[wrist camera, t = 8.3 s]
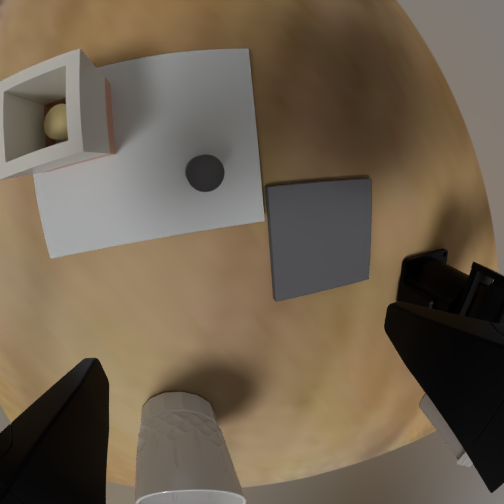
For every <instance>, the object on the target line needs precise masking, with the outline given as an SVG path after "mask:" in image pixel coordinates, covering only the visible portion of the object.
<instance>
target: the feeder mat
mask: <svg viewBox="0 0 504 504" xmlns="http://www.w3.org/2000/svg"><path fill="white" fill-rule="evenodd" d="M265 193H266V205H267V218H268V231H269V244H270V258H271V272H272V287H273V298H274V300H275V301H276V302H277V301H281V300H286V299H290V298H295V297H299V296H303V295H308V294H312V293H316V292H320V291H324V290H328V289H332V288H336V287H340V286H344V285H348V284H352V283H356V282H359V281H363V280H367V279H369V266H370V249H371V223H372V179H369V178H359V179H343V180H329V181H316V182H304V183H293V184H283V185H274V186H265Z"/></svg>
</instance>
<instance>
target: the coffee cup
mask: <svg viewBox="0 0 504 504" xmlns="http://www.w3.org/2000/svg"><path fill="white" fill-rule="evenodd" d="M419 407H420V409H421V410H422V411H423V413H424V414H425V415H426V416H427V418H428V419H429V420H430V422H431V423H432V425H433V426H434V427H435V429H436V430H437V431H438V433H439V434H440V435H441V437H442V438H443V439H444V441H445V442H446V444H447V445H448V446H449V448H450V449H451V450H452V452H453V453H454V455H455V456H456V458H457V459H458V462H457V464H459V465H461V466H463V465H465V466H466V467H470V466H471V465H472V464H473V463H472V461H471V460H470V458H469V457H468V455H467V453H466V451H465V450H464V448H463V447H462V445H461V444H460V442H459V441H458V439H457V438H456V436H455V435H454V433H453V432H452V430H451V429H450V427H449V426H448V424H447V423H446V421H445V420H444V418H443V417H442V416H441V414H440V413H439V411H438V410H437V408H436V407H435V405H434V404H433V403H432V401H431V400H430V398H429V397H428V396H427V394H425V395H424V397H423V398H422V400H421V402H420V405H419Z"/></svg>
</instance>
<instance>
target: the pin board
mask: <svg viewBox="0 0 504 504" xmlns="http://www.w3.org/2000/svg"><path fill="white" fill-rule="evenodd" d="M98 70H99V71H100V72H101V73H102V74H103V75H104V76H105V78H106V79H107V80H108V81H109V82H110V84H111V105H112V119H113V131H114V141H115V150H116V154H115V155H110V156H106V157H102V158H98V159H94V160H90V161H86V162H82V163H78V164H75V165H71V166H68V167H64V168H61V169H57V170H54V171H51V172H44V173H37V174H33V177H34V184H35V190H36V196H37V202H38V208H39V213H40V218H41V222H42V227H43V231H44V235H45V240H46V243H47V247H48V251H49V255H50V258H51V259H52V258H56V257H61V256H66V255H71V254H76V253H81V252H86V251H91V250H96V249H101V248H107V247H112V246H117V245H123V244H128V243H133V242H139V241H145V240H150V239H156V238H162V237H167V236H173V235H179V234H185V233H191V232H197V231H203V230H209V229H216V228H222V227H228V226H235V225H241V224H248V223H254V222H261V221H265V220H264V208H263V196H262V184H261V173H260V161H259V150H258V139H257V129H256V118H255V108H254V97H253V87H252V77H251V68H250V58H249V49H212V50H198V51H187V52H177V53H169V54H162V55H155V56H149V57H143V58H138V59H133V60H128V61H123V62H118V63H114V64H110V65H106V66H102V67H98ZM44 131H45V133H46V135H47V136H48V137H50V138H52V139H56V144H58V143H61V142H65V141H68V132H67V116H66V104H58V105H55V106H54V107H52V108H51V109H50V110H49V112H48V113H47V115H46V117H45V119H44Z"/></svg>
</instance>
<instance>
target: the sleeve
mask: <svg viewBox="0 0 504 504" xmlns="http://www.w3.org/2000/svg"><path fill="white" fill-rule="evenodd" d="M58 104H66V116H67V132H68V141H65V142H61V143H58V144H56V139H52V138H50V137H48V136H47V135H46V133H45V131H44V119H45V117H46V115H47V113H48V112H49V110H50V109H51V108H52V107H54V106H55V105H58ZM115 154H116V150H115V141H114V131H113V119H112V105H111V84H110V82H109V81H108V80H107V79H106V78H105V76H104V75H103V74H102V73H101V72H100V71H99V70H98V68H97V67H96V66H95V65H94V64H93V63H92V61H91V60H90V59H89V58H88V57H87V56H86V55H85V53H84V52H83V51H82V50H81V49H77V50H73V51H70V52H68V53H65V54H62V55H59V56H56V57H54V58H51V59H48V60H46V61H43V62H41V63H39V64H36V65H34V66H31V67H29V68H27V69H25V70H23V71H20V72H18V73H16V74H14V75H12V76H10V77H8V78H6V79H4V80H2V81H0V180H4V179H9V178H14V177H19V176H25V175H31V174H37V173H44V172H51V171H54V170H57V169H61V168H64V167H68V166H71V165H75V164H78V163H82V162H86V161H90V160H94V159H98V158H102V157H106V156H110V155H115Z"/></svg>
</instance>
